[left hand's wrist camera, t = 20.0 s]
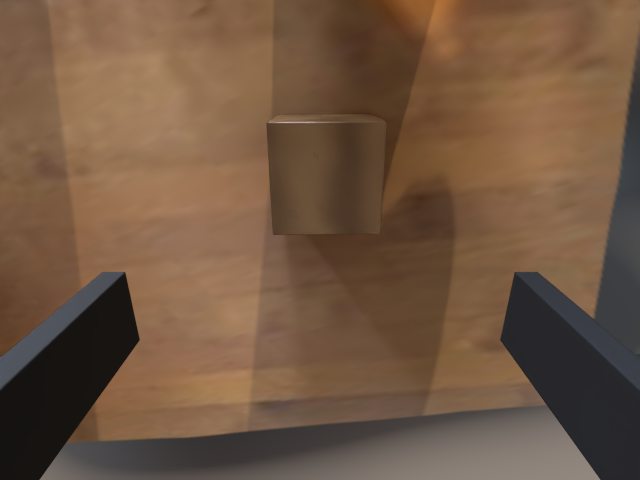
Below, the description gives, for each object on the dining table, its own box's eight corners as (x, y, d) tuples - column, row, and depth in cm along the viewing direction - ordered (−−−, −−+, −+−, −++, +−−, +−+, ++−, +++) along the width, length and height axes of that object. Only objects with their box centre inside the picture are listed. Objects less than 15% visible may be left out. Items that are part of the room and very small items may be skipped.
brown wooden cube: (282, 204, 38) (272, 234, 30) (278, 114, 35) (266, 122, 27) (367, 203, 38) (380, 234, 30) (371, 113, 35) (387, 121, 27)
